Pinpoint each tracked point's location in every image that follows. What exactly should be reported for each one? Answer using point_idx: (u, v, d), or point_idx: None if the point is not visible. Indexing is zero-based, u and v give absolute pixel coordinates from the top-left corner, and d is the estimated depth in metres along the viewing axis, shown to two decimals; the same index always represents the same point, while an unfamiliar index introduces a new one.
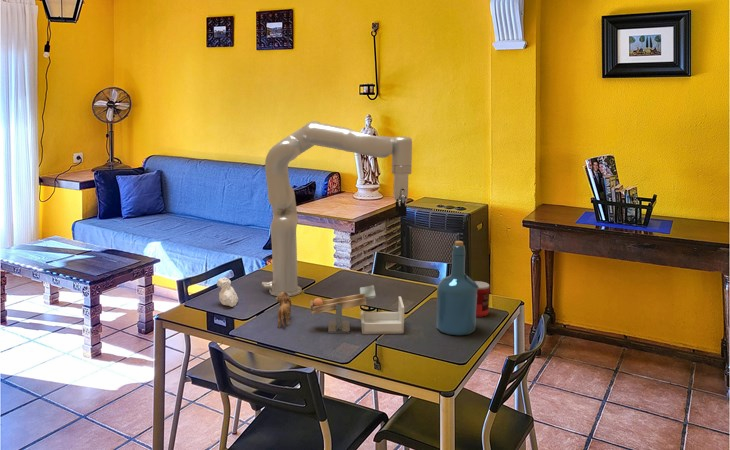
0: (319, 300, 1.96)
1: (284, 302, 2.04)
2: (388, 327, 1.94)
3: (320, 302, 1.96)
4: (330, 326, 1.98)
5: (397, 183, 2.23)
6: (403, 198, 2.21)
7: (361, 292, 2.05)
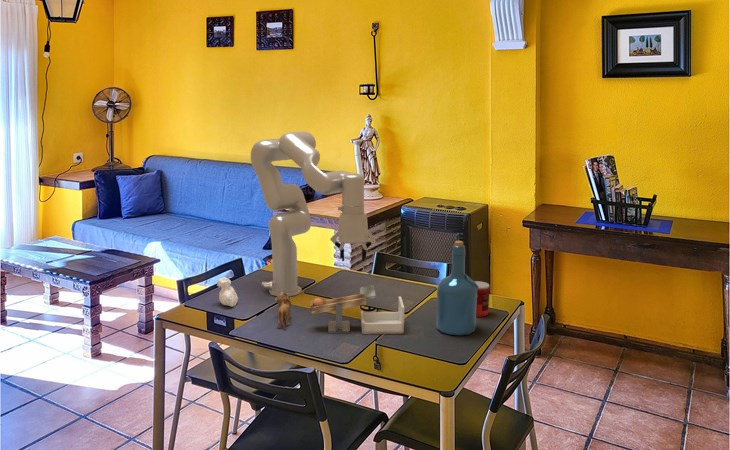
0: (319, 300, 1.96)
1: (284, 302, 2.04)
2: (388, 327, 1.94)
3: (320, 302, 1.96)
4: (330, 326, 1.98)
5: (367, 224, 2.04)
6: None
7: (361, 292, 2.05)
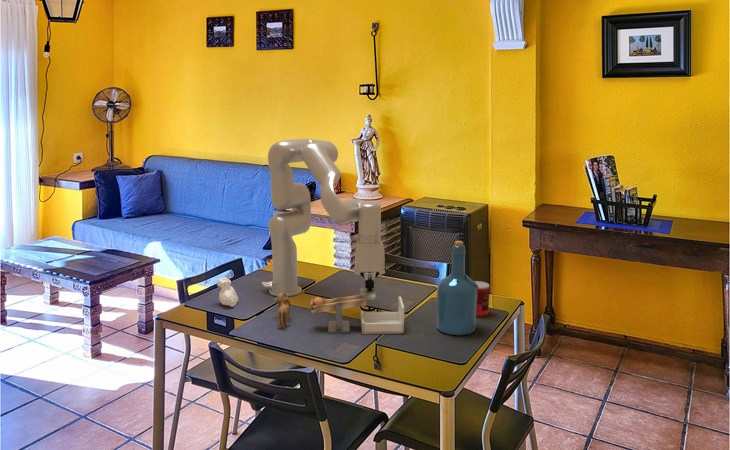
0: (319, 299, 1.96)
1: (283, 303, 2.03)
2: (388, 327, 1.94)
3: (320, 301, 1.96)
4: (330, 326, 1.98)
5: (383, 252, 2.03)
6: None
7: (361, 293, 2.05)
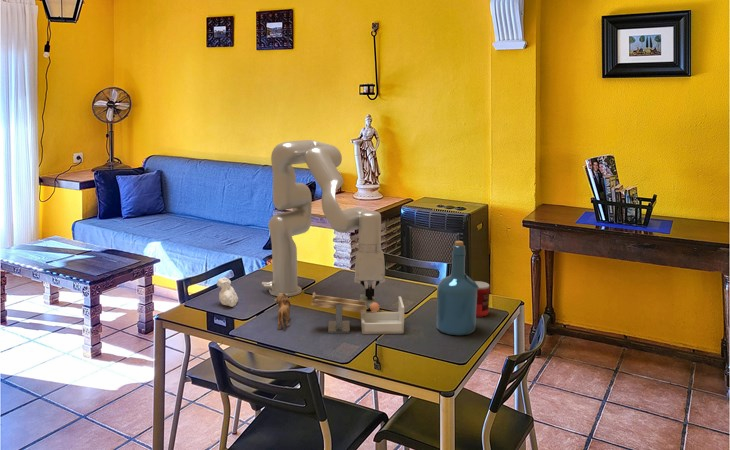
0: (373, 305, 1.97)
1: (283, 303, 2.03)
2: (388, 327, 1.94)
3: (375, 305, 1.97)
4: (330, 326, 1.98)
5: None
6: None
7: (361, 299, 2.06)
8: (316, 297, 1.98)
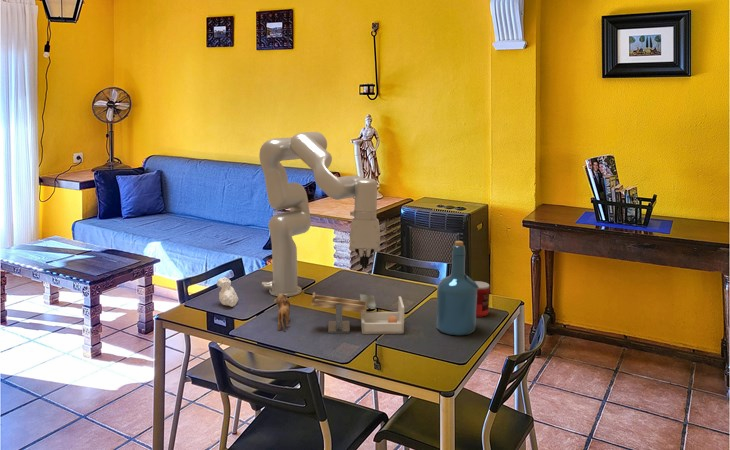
0: None
1: (283, 304, 2.02)
2: (388, 327, 1.94)
3: None
4: (330, 326, 1.98)
5: (379, 229, 2.02)
6: None
7: (361, 299, 2.06)
8: (316, 297, 1.98)
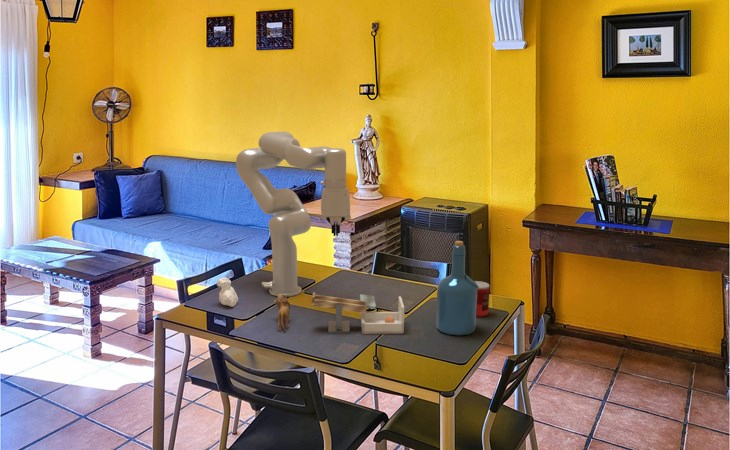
0: None
1: (283, 305, 2.02)
2: (388, 327, 1.94)
3: None
4: (330, 326, 1.98)
5: (349, 198, 2.08)
6: None
7: (361, 299, 2.06)
8: (316, 297, 1.98)
